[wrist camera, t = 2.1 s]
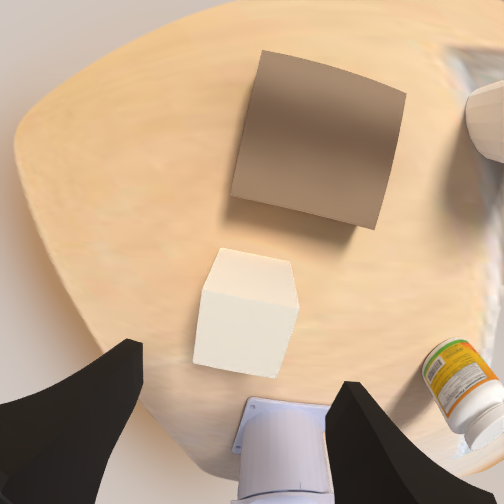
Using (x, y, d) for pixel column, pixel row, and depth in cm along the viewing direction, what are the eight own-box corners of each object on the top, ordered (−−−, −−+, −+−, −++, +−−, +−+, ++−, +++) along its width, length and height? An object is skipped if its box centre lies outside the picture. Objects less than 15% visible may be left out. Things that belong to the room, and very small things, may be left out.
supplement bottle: (467, 363, 22) (513, 430, 13) (422, 389, 23) (459, 465, 14) (467, 325, 20) (526, 394, 11) (417, 353, 21) (465, 437, 12)
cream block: (274, 320, 21) (276, 378, 15) (210, 307, 20) (192, 362, 15) (290, 261, 19) (299, 308, 13) (220, 247, 19) (202, 289, 13)
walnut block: (358, 218, 18) (374, 230, 15) (235, 188, 18) (229, 195, 15) (386, 100, 16) (406, 93, 13) (262, 65, 15) (262, 50, 13)
